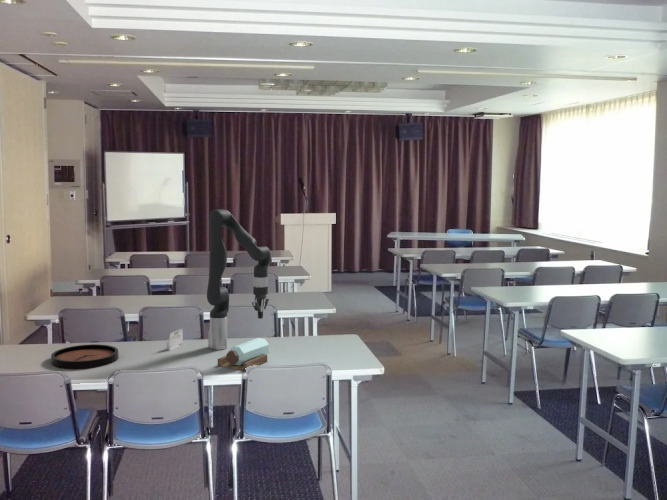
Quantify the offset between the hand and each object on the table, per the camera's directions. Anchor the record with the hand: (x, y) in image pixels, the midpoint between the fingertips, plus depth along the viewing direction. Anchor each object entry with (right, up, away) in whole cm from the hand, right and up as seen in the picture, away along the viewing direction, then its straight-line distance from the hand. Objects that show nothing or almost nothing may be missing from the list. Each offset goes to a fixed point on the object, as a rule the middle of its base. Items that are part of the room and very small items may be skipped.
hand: (260, 318), depth 323 cm
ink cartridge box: (-48, -18, +14) cm, 53 cm away
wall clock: (-87, -20, -10) cm, 89 cm away
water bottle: (+2, -15, 0) cm, 15 cm away
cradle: (-7, -21, -12) cm, 26 cm away
